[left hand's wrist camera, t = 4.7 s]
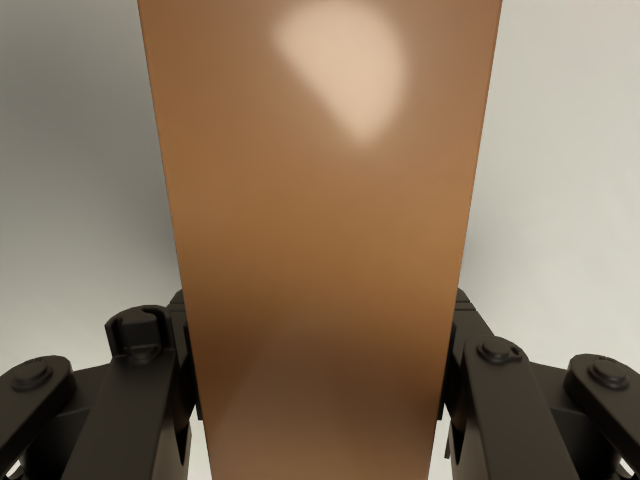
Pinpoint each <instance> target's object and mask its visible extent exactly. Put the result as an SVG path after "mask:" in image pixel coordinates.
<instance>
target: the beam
mask: <svg viewBox="0 0 640 480" xmlns="http://www.w3.org/2000/svg"><path fill="white" fill-rule="evenodd" d="M137 2H138V9H139V15H140V21H141V28H142V34H143V40H144V47H145V53H146V60H147V66H148V72H149V79H150V85H151V92H152V98H153V104H154V111H155V117H156V124H157V130H158V136H159V143H160V149H161V156H162V162H163V168H164V175H165V181H166V188H167V194H168V200H169V207H170V213H171V220H172V226H173V232H174V239H175V245H176V251H177V258H178V264H179V271H180V277H181V283H182V290H183V296H184V303H185V309H186V315H187V322H188V328H189V335H190V341H191V347H192V354H193V360H194V367H195V373H196V379H197V386H198V392H199V399H200V405H201V411H202V418H203V424H204V431H205V437H206V443H207V450H208V456H209V462H210V469H211V475H212V480H428V474H429V468H430V461H431V455H432V449H433V442H434V436H435V429H436V423H437V417H438V410H439V404H440V397H441V391H442V385H443V378H444V372H445V365H446V359H447V352H448V346H449V340H450V333H451V327H452V320H453V314H454V308H455V301H456V295H457V288H458V282H459V276H460V269H461V263H462V256H463V250H464V244H465V237H466V231H467V224H468V218H469V211H470V205H471V199H472V192H473V186H474V179H475V173H476V167H477V160H478V154H479V147H480V141H481V135H482V128H483V122H484V115H485V109H486V103H487V96H488V90H489V83H490V77H491V70H492V64H493V58H494V51H495V45H496V38H497V32H498V26H499V19H500V13H501V6H502V0H137Z"/></svg>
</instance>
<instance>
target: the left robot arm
mask: <svg viewBox="0 0 640 480" xmlns="http://www.w3.org/2000/svg"><path fill="white" fill-rule="evenodd" d="M104 326H105V330H106V334H107V338H108V342H109V346H110V350H111V353H112V360H111V362H110V363H109V364H105V365H101V366H97V367H92V368H87V369H82V370H78V371H73V370H72V366H71V363H70V361H69V360H68V359H66V358H65V357H62V356H56V355H52V356H43V357H38V358H35V359H31V360H28V361H25V362H24V363H22V364H20V365H17V366H15V367H13V368H12V369H10V370H9V371H7V372H6V373H5V374H3V375H2V376H0V480H187V476H188V466H189V456H190V447H191V437H192V434H191V427H190V421H189V419H190V416H191V413H192V411H193V408H194V406H195V404H196V410H197V416H198V420H203V418H202V411H201V405H200V399H199V392H198V386H197V379H196V373H195V367H194V360H193V354H192V347H191V341H190V335H189V328H188V322H187V315H186V309H185V303H184V296H183V290H182V289H181V290H180V291H178V292H177V293H176V294H175V296H174V297H173V298H172V300H171V301H170V304H168V306H167V307H166V308H165V307H163V306H158V305H142V306H137V307H132V308H130V309H127V310H124V311H122V312H120V313H118V314H116V315H115V316H113V317H112V318H110V319H109V320H108V322H107V323H106V324H105V325H104ZM444 403H445V405H446V407H447V410H448V412H449V415H450V417H451V421H450V427H449V433H448V439H447V444H446V450H445V457H444V458H447V459H449V457H450V456H451V465H452V475H453V480H640V374H638V373H637V372H635V371H634V370H633V369H631V368H630V367H628V366H627V365H624V364H622V363H620V362H618V361H616V360H614V359H612V358H609V357H605V356H601V355H594V354H580V355H575V356H574V357H573V358H572V359H571V360H570V362H569V365H568V369H567V370H565V369H560V368H556V367H551V366H546V365H541V364H537V363H533V362H530V361H529V359H528V357H527V355H526V354H525V353H524V351H523V350H522V349H521V348H520V347H518V346H517V345H515V344H514V343H513V342H510V341H508V340H506V339H504V338H501V337H497V336H494V334H493V333H492V331H491V330H490V328H489V327H488V326H487V324H486V323H485V321H484V320H483V319H482V317H481V316H480V314H479V313H478V311H476V309H475V307H474V306H473V304H472V303H470V300H469V299H468V297H467V296H466V294H465V293H464V292H463V291H462V290H461V289H459V288H457V295H456V301H455V308H454V314H453V320H452V327H451V333H450V340H449V346H448V352H447V359H446V365H445V372H444V378H443V385H442V391H441V397H440V404H439V410H438V417H437V420H442V415H443V409H444ZM621 458H623V459H624V460H625V462H626V463H627V464H628V465H629V466H630V468H631V469H632V470H633V471H634V472H635V473H634V475H633V476H631V475H630V474H629V473H628V472H627V471H626V470H625V469H624V468H623V467H622V465H621V464H620V460H621ZM18 459H19V461H20V464H21V465H20V466H19V467H18V469H17V470H16V471H15V472H14V473H13V474H12V475H11V476H10V477H9V478H8V477H7V476H6V474H7V472H8V471H9V470H10V469H11V468H12V466H13V465H14V464H15V463H16V462H17V460H18Z"/></svg>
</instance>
